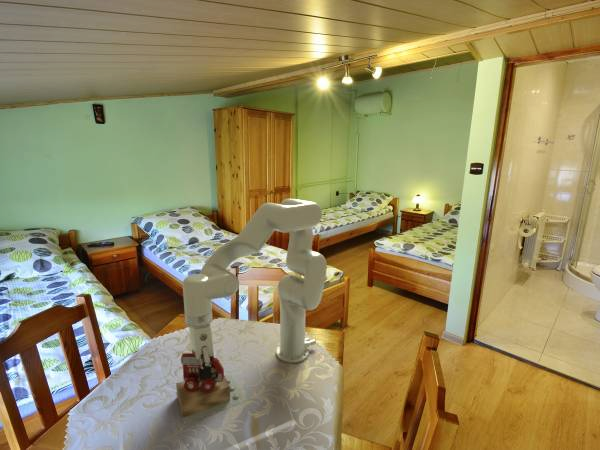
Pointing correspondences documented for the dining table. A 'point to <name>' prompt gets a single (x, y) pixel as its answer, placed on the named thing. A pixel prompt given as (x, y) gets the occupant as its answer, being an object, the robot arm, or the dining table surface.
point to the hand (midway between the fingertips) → (201, 368)
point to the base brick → (201, 397)
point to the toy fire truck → (193, 374)
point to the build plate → (234, 400)
